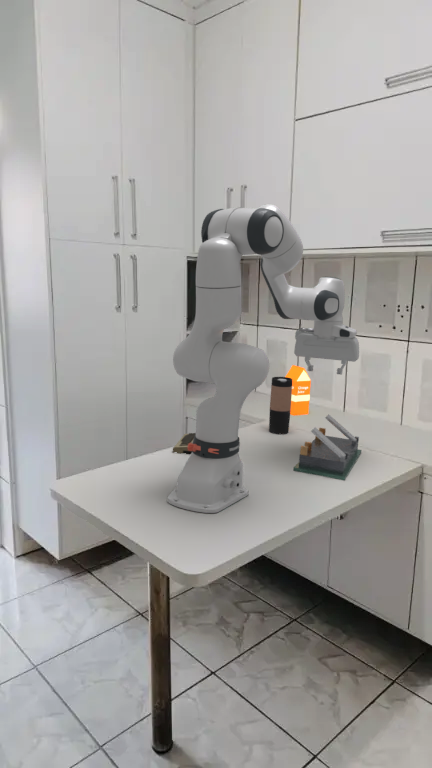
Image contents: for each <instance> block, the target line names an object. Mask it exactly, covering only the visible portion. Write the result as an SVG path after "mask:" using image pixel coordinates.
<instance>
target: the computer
mask: <svg viewBox="0 0 432 768" xmlns="http://www.w3.org/2000/svg"><path fill="white" fill-rule="evenodd" d="M195 435H196V432H194V433H192V432H188V433H183V436H181V438H180V439H179V440H178V441H177V442H176V444H175V445H174V446H173V447H172V453H173V452H177V453H176V454H181V453H186V454H185V455H191V453H192V451H188V448H187V447H188V444H189V443H192V442H193V439H194V436H195Z"/></svg>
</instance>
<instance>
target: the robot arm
mask: <svg viewBox="0 0 432 768" xmlns="http://www.w3.org/2000/svg"><path fill="white" fill-rule="evenodd" d="M200 232H201V233H200V235H201V242H202V243H201V244H200V246H199V248H198V252H197V258H196V268H195V316H194V321H193V325H192V328H191V330H190V331H189V334H188V335H187V337H185V338H184V339H183V340H182V341H180V342H179V343H178V345H176V348H175V349H174V353H173V355H172V363H173V367H174V370H175V372H176V373H177V374H178V375H179V376H180V377H183V378H185V379H187V380H190V381H193V382H198V383H205V384H211V385H215V386H216V388H215V394H214V396H211V397H208V398H207V399H205V400H203V401H201V402H200V403H199V405H198V407H197V409H196V411H195V412H196V413H195V433H196V435H195V436H194V439H193V442H192V443H189V444H188V447H187V448H188V451H192V453H191V454H189V457H188V458H187V459H186V460H187V461H186V462H185V464H184V466H183V467H182V470H181V471H180V473H179V475H178V476H177V477H178V478H177V483H176V486H175V487H174V488H173V490H172V491H171V492H170V493H169V495H167V499H166V502H167V503H168V504H170V505H172V506H173V507H174V506H175V507H177V508H180V509H184V510H187V511H192V512H197V513H204V514H206V513H207V514H216V513H219V512H221V511H223V510H224V509H226V508H228V507H230V506H231V505H233V504H235V503H236V502H238V501H240V500H242V499H244V498H245V497H247V496H249V490H248V489H247V488H245V486H244V485H245V484H244V476H245V475H244V462H243V460H242V459H241V457H240V454H239V452H240V445H241V442H240V437H239V427H240V420H241V419H240V417H241V412H242V408H243V405H244V402H245V401H246V399H247V397H248V396H249V395H250V394H251V393H252V392H253V391H254V390H255V389H257V388H259V387H260V386H262V384H264V382H265V380H267V377H268V375H269V371H270V361H269V358H268V355H267V353H266V352H265V351H264V350H263V349H262V348H259V347H256V346H254V345H250V344H248V343H240V342H229V341H223V333H224V331H225V329H228V328H231V327H232V326H234V325H235V324H236V323H237V322H238V321H239V320H240V318H241V316H242V311H243V310H242V301H243V299H242V296H243V295H242V270H241V259H242V257H243V256H250V255H251V256H252V255H260V256H261V260H260V271H261V274H262V276H263V278H264V281H265V283H266V285H267V288H268V289H269V291H270V294H271V296H272V298H273V303H274V307H275V311H276V312H277V314H278V315H279V317H280V318H282V319H283V320H303V321H313V328H311V327H310V328H309V327H308V328H306V327H300V328H298V329H296V330H295V333H294V334H295V335H294V339H295V344H294V351H293V353H294V355H295V356H296V357H303V358H304V362H305V365H306V366H307V369H306V370H307V372H313V371H314V365H312V364H311V362H310V360H311V359H323V360H333V361H340V364H341V367H337V368H336V374H337V375H343V370H344V368H345V366H346V365H347V363H348V362H356V361H358V359H359V357H360V345H359V343H360V342H359V340H358V338H357V337H356V336H357V334H358V330H357V329H355V328H353V327H350V326H347V325H345V324H343V323H344V318H343V311H344V308H345V297H346V296H345V295H346V292H345V291H346V290H345V289H346V288H345V284H344V283H345V282H344V280H343V279H342V278H340V277H339V278H338V277H335V276H334V277H333V276H322V277H320V278H319V279H318V283H317V285H315V286H313V287H297V286H293V285H290V284H289V283H288V280H287V278H286V276H285V274H288V273H289V272H291V271H292V270H293V269H295V268H296V267H297V266H298V265H299V263H300V261H301V260H302V257H303V254H304V246H303V242H302V239H301V237H300V235H299V234H298V232H297V230H296V228H295V227H294V225H293V223H292V221H291V220H290V218H289V217H287V215H286V214H285V213H284V212H283V210H282V209H280V207H278V206H277V205H275V204H271V203H267V204H262V205H260V206H258V207H256V208H253V207H242V206H240V207H239V206H237V207H230V208H219V209H218V208H217V209H215V210H213V211H210V212H209V213H207V215H206V216H205V217H204V219H203V221H202V225H201V231H200Z"/></svg>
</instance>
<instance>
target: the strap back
mask: <svg viewBox="0 0 432 768" xmlns="http://www.w3.org/2000/svg"><path fill="white" fill-rule="evenodd" d="M324 418H325V420H327V421H328V423H330V424H331V425H332V426H333V427H334V428H335V429H337V430H338V432H341V434H343V435H344V436H345V437H346V439H349V440H351V441H352V440H357V439H356V438H355V436H354V435H353V434H352V433H351V432H349V430H347V429H346V428H345V427H344V426H343V425H342V424H341V423H339V422H338V421H337V420H336V419H335V418H333V417H332V416H331V415H330V414H327V415H326V416H325V417H324Z"/></svg>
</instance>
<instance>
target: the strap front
mask: <svg viewBox="0 0 432 768" xmlns="http://www.w3.org/2000/svg"><path fill="white" fill-rule="evenodd" d="M310 432H311V433H312V434H313V435H314V436H317V437H318V438H319V439H320V440H321V441H322V442H323V443H324V444H326V445H327V446H328V447H329V448H330V449H331V450H332V451H333V452H335V453H336V454H337V455H338V456H339V457H340V458H341V456H344V457H345V456H346V454H345V453H344V452H343V451H341V450H340V449H339V448H338V447H337V446H336V445H335V444H334V443H332V442H331V441H330V440H329V439H328V438H327V437H326V436H327V435H326V434H325V435H323V434H322V433H321V432H320V431H319V428H317V427H316V426H315V427H313V429H312V430H310Z"/></svg>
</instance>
